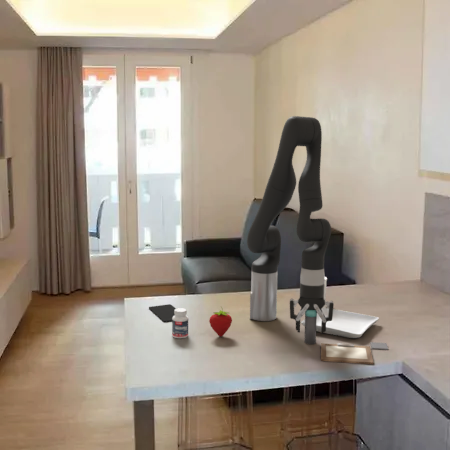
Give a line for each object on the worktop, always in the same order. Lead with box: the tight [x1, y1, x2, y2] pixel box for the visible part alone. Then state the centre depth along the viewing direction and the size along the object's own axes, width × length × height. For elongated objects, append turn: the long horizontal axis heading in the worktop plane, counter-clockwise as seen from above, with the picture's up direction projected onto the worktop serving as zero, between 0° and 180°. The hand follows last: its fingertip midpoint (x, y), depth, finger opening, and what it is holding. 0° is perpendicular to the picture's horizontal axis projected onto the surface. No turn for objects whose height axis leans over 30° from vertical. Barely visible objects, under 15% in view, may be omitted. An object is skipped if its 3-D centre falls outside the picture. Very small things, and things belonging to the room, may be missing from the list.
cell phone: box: [148, 304, 177, 323], centre depth 219 cm, size 9×18×1 cm, turn 25°
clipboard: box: [320, 342, 374, 365], centre depth 182 cm, size 15×13×1 cm
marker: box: [303, 310, 317, 345], centre depth 191 cm, size 4×4×11 cm
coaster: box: [370, 341, 389, 351], centre depth 188 cm, size 5×5×1 cm
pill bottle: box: [171, 307, 189, 339], centre depth 195 cm, size 5×5×9 cm
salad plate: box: [300, 307, 380, 339], centre depth 205 cm, size 21×21×3 cm
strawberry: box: [208, 306, 233, 337], centre depth 195 cm, size 6×8×10 cm
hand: (310, 332), depth 191 cm, fingers open, 7 cm apart
